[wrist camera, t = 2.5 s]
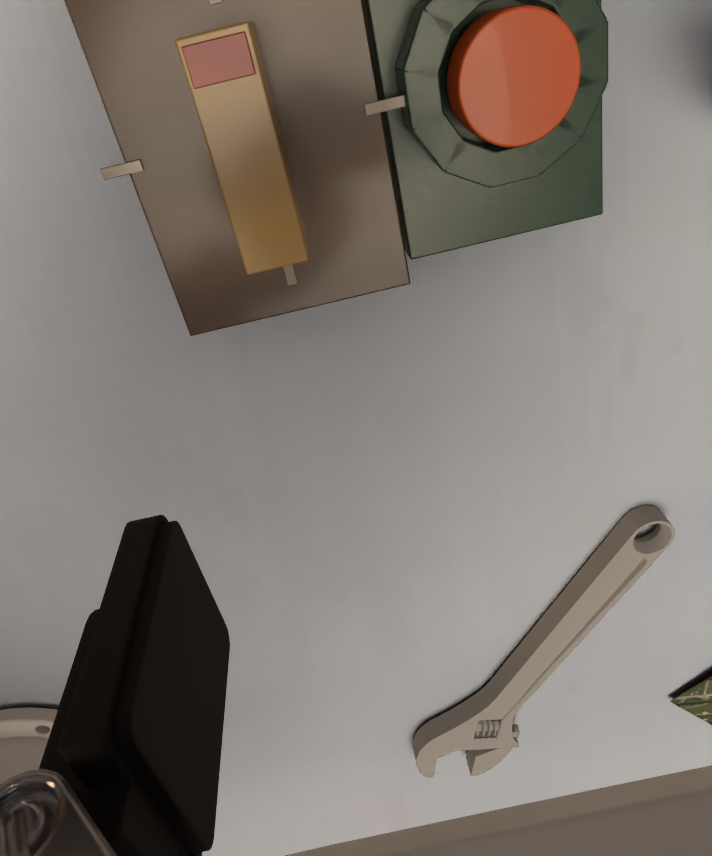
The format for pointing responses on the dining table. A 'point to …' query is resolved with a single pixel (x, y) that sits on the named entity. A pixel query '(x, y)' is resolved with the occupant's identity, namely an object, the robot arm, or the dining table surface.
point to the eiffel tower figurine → (697, 700)
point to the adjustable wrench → (544, 647)
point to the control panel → (303, 137)
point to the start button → (514, 75)
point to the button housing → (469, 154)
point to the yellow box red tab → (245, 144)
